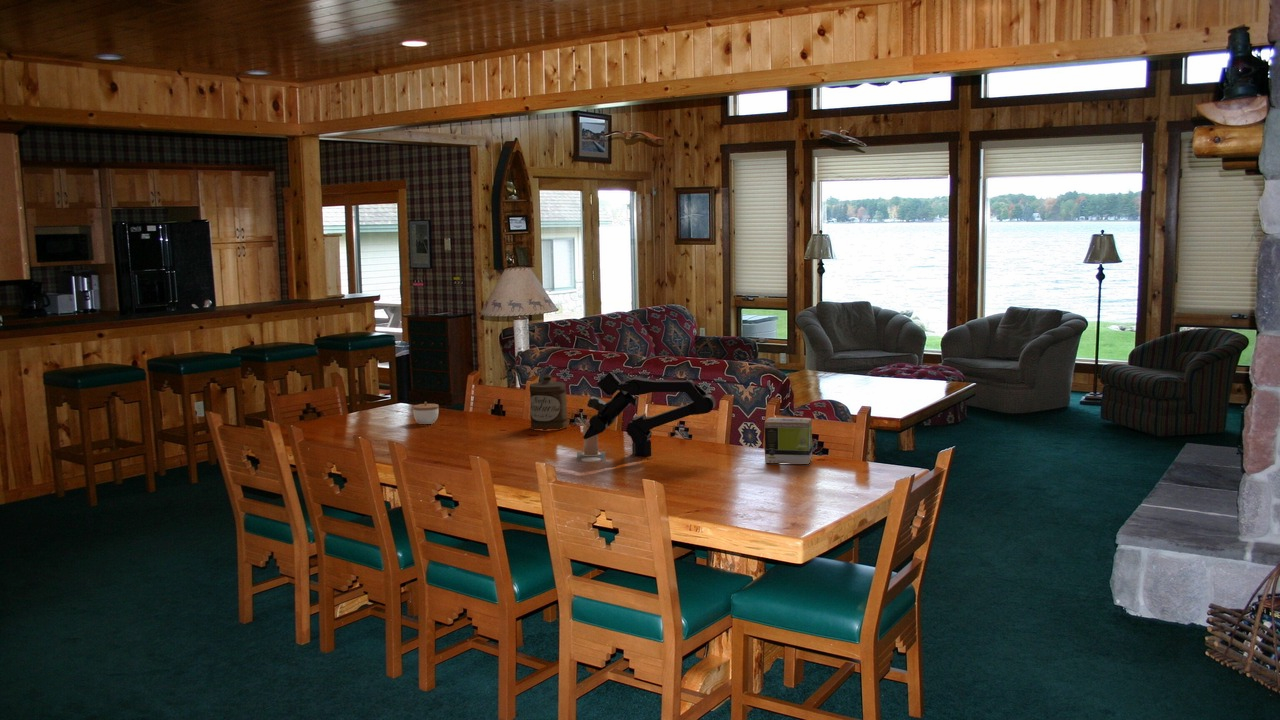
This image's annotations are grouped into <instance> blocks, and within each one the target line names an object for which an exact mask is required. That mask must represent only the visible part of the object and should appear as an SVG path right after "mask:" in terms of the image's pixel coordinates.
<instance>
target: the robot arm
mask: <svg viewBox="0 0 1280 720" xmlns="http://www.w3.org/2000/svg"><path fill="white" fill-rule="evenodd" d="M596 386H597V387H598V389H600V390H601V391H602V393H604V394H605V395H606V396H607V397H608V396H611V397H612V398H611V399H610V400H608V401H607V402H606V401H604V400H603V399H601V398H598V397H596V396H592V395H591V396H590V397H589V400H588V401H587V404H586V406H587V407H588V408H591V409H593V410H596V411H597V414H594V415H593V416H592V417H590V418H589V419H590V420H589V419H588V420H589V422H590V427H589V428H588V430H587V432H586V433H585V435H584V434H583V435H582V436H583V437H582V438H583V440H584V439H587V438H590V437H592V436H595V435H597V434H598V435H600V434H602V433H603V432H604V431H606V429H608V427H609V426H611V425H612V424H613V423H614V422H616V420H617V417H619V416H620V415H621V414H622V413H623V412H624V411H625V410H626V409H627V408H628V407H629V405H630V404H632V405H633V407H635V406H638V397H636V396H640V395H647V394H649V393H650V394H651V393H685V394H686V395H688V397H689V398H690V400H691V402H689V403H687V404H684V405H681V406H679V407H675V408H672V409H669V410H667V411H664V412H662V413H658V414H655V415H652V416H647V415H646V413H643V414H642V415H639V416H634V417H633V418H632V419H631V421H630V422H629V423H628V424H627V426H626V428H625V429H626V433H627V435H628V436H629V437H630V438H631V441H632V444H631V446H632V447H631V448H632V451H631V452H632V455H633V456H634V457H638V458H639V457H641V458H647V457H651V456H652V440H651V437H652V434H653V432H652V431H651V430H652V429H654V428H658V427H660V426H663V425H666V424H668V423H673V422H675V421H677V420H680V419H684V418H685V417H689V416H697V415H705V414H709V413H711V412H712V410H713V409H714V408H715V406H716V402H717V401H716V399H715V397H714V396H713V395H712V394H710V393H707V392H706V391H705V390H704V389H703V388H701V387H700V386H698V385H697V384H696V382H694V380H692V379H686V380H653V379H650V378H646V377H640V376H635V377H633V378H631V379H630V380H624V381H620V380H619V379H618V378H617V377H616V376H615V374H614V373H613V372H612V371H609V372H608V373H607V374H606V375H605V376H604V377H602V378H601V379H600V380H599V381H598V382H597V383H596Z"/></svg>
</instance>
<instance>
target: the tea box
mask: <svg viewBox="0 0 1280 720" xmlns="http://www.w3.org/2000/svg"><path fill="white" fill-rule="evenodd" d="M812 422H813V421H812V418H811V417H774V416H773V417H772V416H771V417H768V418H767V419H766V420H765V421H764V458H765V459H764V464H765V463H790V464H809V463H810V464H811V462H810V460H811V457H812V458H813V430H812V429H813V428H812V427H813V426H812V425H813V423H812ZM811 461H812V460H811ZM810 464H809V465H810Z"/></svg>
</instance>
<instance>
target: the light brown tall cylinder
mask: <svg viewBox="0 0 1280 720" xmlns="http://www.w3.org/2000/svg"><path fill="white" fill-rule="evenodd" d="M590 419H591V418H589V419H585V424H584V425H582V426H583V428H582V429H583V436H584V435H585V433H586V432H587V430H588V428H589V427H590V422H589V420H590ZM583 452H584V454H585V455H597V454H598V452H599V434H597V435H595V436H592V437H590V438H587V439H584V438H583Z"/></svg>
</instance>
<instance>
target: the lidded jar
mask: <svg viewBox="0 0 1280 720" xmlns="http://www.w3.org/2000/svg"><path fill="white" fill-rule="evenodd" d="M439 408H440V406H439V404H438V403H428V401H424V402H423V403H419V404H415V405H413V406H412V411H413V412H412V413H413V418H414V420H415V421H416V422H417V423H418V424H431V425H433V423H434V424H435V422H436V421H437V420H438V417H439V410H440V409H439Z"/></svg>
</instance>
